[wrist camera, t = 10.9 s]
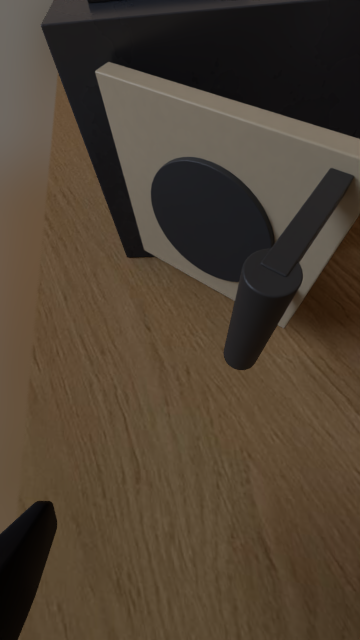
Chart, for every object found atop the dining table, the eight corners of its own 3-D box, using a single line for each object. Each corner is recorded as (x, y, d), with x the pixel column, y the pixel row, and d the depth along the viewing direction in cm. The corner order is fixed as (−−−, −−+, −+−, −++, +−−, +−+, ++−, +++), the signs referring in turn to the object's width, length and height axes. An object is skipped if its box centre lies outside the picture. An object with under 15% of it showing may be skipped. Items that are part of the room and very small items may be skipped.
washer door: (241, 397, 14) (307, 303, 6) (97, 299, 18) (-9, 139, 9) (290, 318, 16) (401, 150, 7) (151, 242, 19) (108, 60, 10)
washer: (326, 251, 21) (525, -70, 8) (127, 257, 22) (24, -18, 9) (295, 135, 27) (379, -150, 14) (140, 144, 28) (90, -114, 15)
